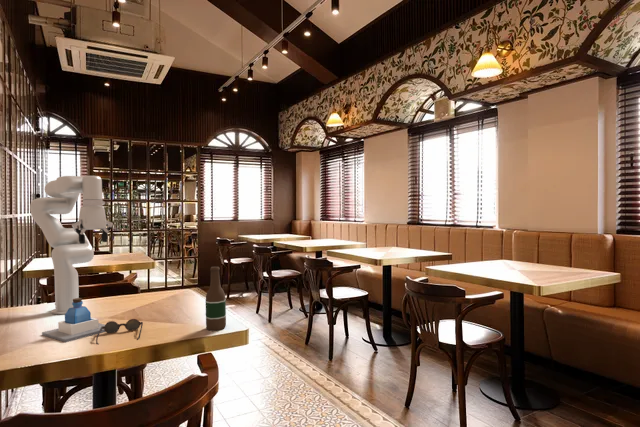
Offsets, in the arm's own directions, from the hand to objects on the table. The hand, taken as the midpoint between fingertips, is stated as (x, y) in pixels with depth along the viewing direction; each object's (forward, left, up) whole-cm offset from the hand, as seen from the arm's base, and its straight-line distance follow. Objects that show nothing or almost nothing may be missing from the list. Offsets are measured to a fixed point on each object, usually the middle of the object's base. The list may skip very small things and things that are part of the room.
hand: (93, 242), depth 178 cm
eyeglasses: (+36, -10, -34) cm, 51 cm away
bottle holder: (+16, -15, -33) cm, 40 cm away
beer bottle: (+60, +15, -34) cm, 70 cm away
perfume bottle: (+16, -15, -32) cm, 39 cm away
